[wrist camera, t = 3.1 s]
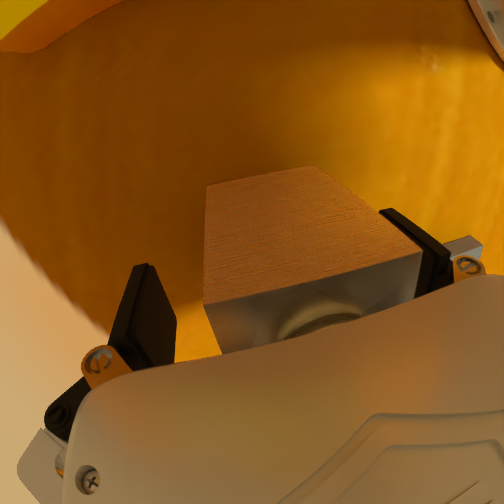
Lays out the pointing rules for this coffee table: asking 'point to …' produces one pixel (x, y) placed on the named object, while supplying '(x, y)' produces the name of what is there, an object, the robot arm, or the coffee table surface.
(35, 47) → the element tile
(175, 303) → the coffee table surface
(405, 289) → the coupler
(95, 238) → the coffee table surface
